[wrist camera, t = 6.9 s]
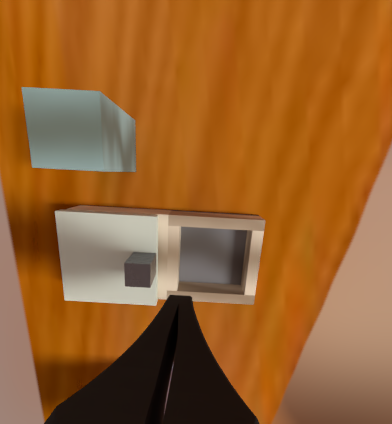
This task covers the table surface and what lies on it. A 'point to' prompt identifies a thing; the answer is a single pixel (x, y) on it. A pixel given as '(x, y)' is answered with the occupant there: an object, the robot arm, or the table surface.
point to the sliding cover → (108, 256)
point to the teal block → (78, 131)
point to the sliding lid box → (204, 253)
